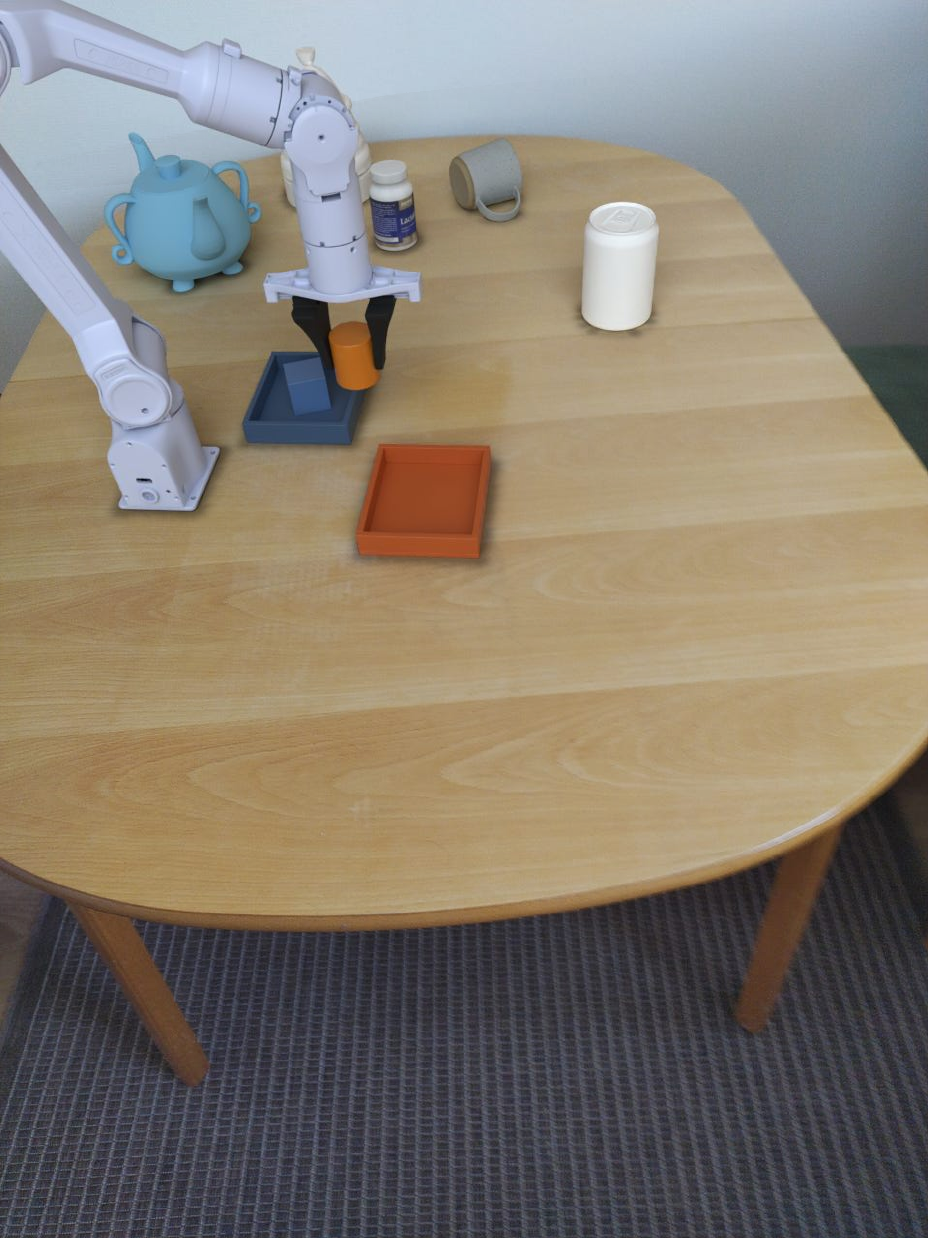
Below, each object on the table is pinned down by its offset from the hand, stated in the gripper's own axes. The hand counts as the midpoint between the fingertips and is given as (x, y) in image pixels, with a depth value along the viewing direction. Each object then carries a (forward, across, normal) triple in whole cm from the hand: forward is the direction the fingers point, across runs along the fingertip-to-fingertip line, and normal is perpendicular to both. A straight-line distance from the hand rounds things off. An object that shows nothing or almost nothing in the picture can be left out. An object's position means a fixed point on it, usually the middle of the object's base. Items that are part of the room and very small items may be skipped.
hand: (356, 363), depth 93 cm
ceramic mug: (+9, -9, -50) cm, 52 cm away
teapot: (+9, +29, -35) cm, 46 cm away
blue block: (+8, +7, -4) cm, 12 cm away
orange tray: (+8, -8, +12) cm, 16 cm away
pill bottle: (+9, +3, -40) cm, 41 cm away
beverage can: (+9, -26, -22) cm, 35 cm away
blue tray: (+8, +7, -4) cm, 12 cm away
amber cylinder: (+2, 0, 0) cm, 2 cm away
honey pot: (+9, +15, -56) cm, 58 cm away
